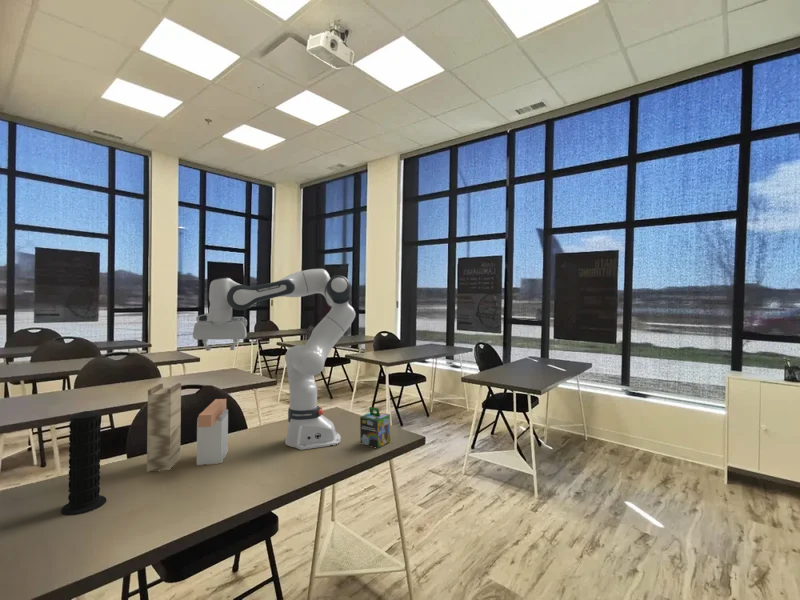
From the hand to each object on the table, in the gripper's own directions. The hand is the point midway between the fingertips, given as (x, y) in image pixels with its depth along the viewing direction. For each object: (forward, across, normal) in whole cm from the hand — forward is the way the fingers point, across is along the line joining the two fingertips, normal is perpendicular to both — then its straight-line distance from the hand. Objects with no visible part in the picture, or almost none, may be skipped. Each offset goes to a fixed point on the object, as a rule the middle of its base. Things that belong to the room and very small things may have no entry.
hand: (220, 350), depth 161 cm
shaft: (+22, -2, +20) cm, 30 cm away
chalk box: (+38, -63, +15) cm, 75 cm away
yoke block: (+37, -2, +20) cm, 42 cm away
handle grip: (+37, +24, +48) cm, 65 cm away
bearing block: (+37, +13, +23) cm, 45 cm away
